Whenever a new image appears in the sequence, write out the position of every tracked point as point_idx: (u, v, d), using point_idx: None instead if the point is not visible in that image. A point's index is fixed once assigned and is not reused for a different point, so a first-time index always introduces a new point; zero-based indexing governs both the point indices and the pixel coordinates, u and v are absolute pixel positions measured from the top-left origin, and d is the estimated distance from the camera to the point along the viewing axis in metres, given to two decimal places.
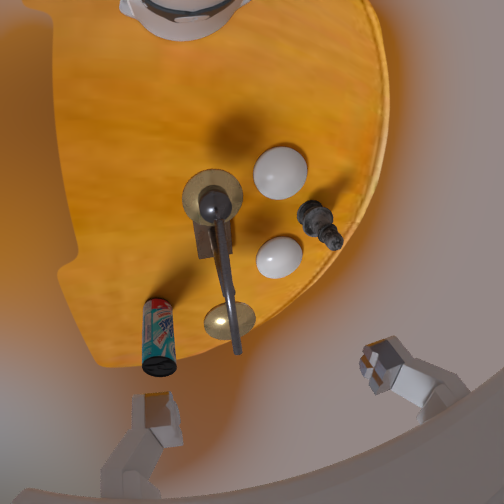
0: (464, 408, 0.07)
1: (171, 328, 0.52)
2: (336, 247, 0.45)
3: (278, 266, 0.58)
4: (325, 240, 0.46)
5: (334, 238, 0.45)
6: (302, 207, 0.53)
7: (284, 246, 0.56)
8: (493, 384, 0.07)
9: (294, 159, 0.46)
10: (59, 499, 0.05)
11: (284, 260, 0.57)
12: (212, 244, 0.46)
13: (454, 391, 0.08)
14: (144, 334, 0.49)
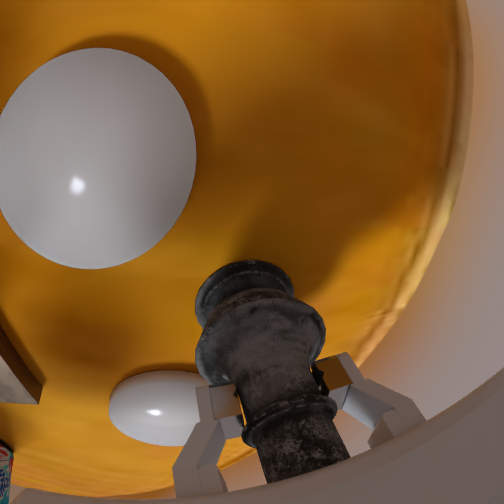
0: (464, 408, 0.07)
1: None
2: None
3: (174, 430, 0.18)
4: (267, 482, 0.07)
5: None
6: (210, 290, 0.14)
7: (172, 396, 0.16)
8: (493, 384, 0.07)
9: (125, 91, 0.09)
10: (59, 499, 0.05)
11: (186, 421, 0.18)
12: None
13: (405, 419, 0.08)
14: None
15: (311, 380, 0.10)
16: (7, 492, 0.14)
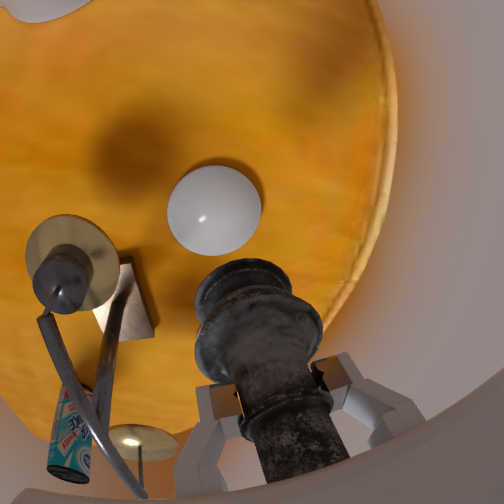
0: (464, 408, 0.07)
1: None
2: None
3: None
4: (265, 475, 0.08)
5: None
6: (210, 287, 0.14)
7: None
8: (493, 384, 0.07)
9: (235, 186, 0.27)
10: (59, 499, 0.05)
11: None
12: (103, 332, 0.25)
13: (405, 419, 0.08)
14: (52, 430, 0.27)
15: (308, 375, 0.10)
16: None
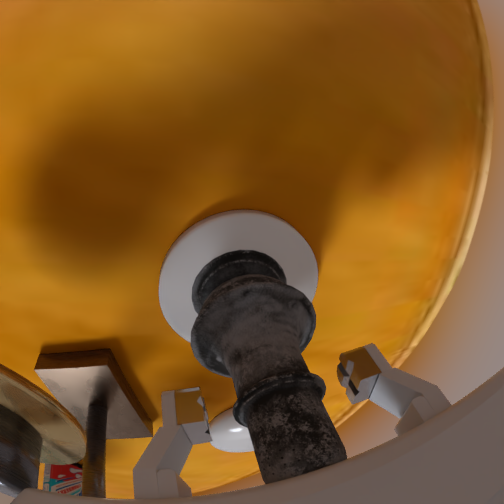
0: (464, 408, 0.07)
1: None
2: None
3: None
4: (256, 457, 0.08)
5: (295, 473, 0.07)
6: (206, 277, 0.15)
7: None
8: (493, 384, 0.07)
9: (279, 250, 0.16)
10: (59, 499, 0.05)
11: None
12: (83, 457, 0.14)
13: (433, 404, 0.08)
14: None
15: (300, 360, 0.11)
16: None
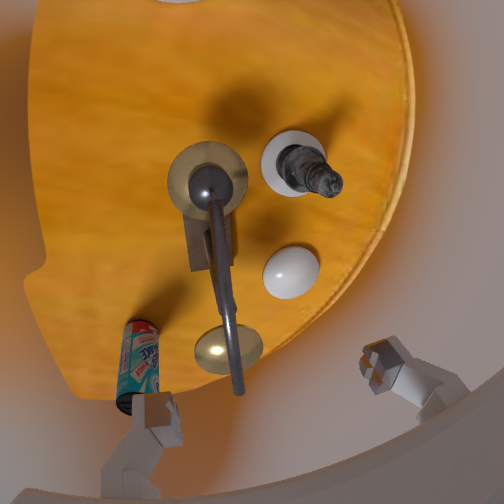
0: (464, 408, 0.07)
1: (155, 357, 0.40)
2: (332, 190, 0.28)
3: (290, 283, 0.47)
4: (314, 181, 0.29)
5: (328, 175, 0.28)
6: (283, 152, 0.36)
7: (297, 257, 0.45)
8: (493, 384, 0.07)
9: None
10: (59, 499, 0.05)
11: (297, 276, 0.46)
12: (207, 249, 0.35)
13: (454, 391, 0.08)
14: (121, 363, 0.37)
15: None
16: None
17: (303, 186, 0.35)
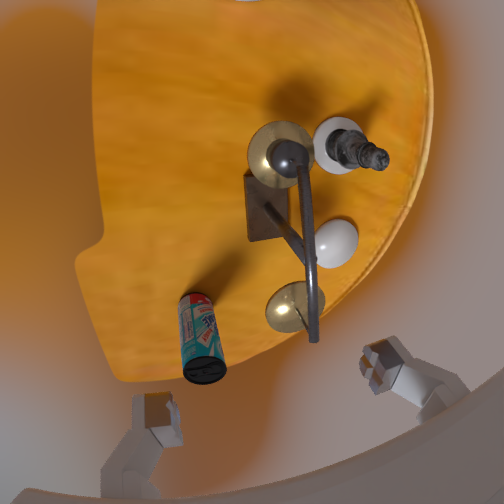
0: (464, 408, 0.07)
1: (216, 326, 0.44)
2: (382, 164, 0.32)
3: (333, 253, 0.51)
4: (367, 157, 0.34)
5: (379, 152, 0.32)
6: (332, 135, 0.40)
7: (341, 229, 0.49)
8: (493, 384, 0.07)
9: None
10: (59, 499, 0.05)
11: (340, 246, 0.51)
12: (273, 217, 0.39)
13: (454, 391, 0.08)
14: (183, 332, 0.41)
15: None
16: None
17: (351, 163, 0.39)
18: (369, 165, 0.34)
